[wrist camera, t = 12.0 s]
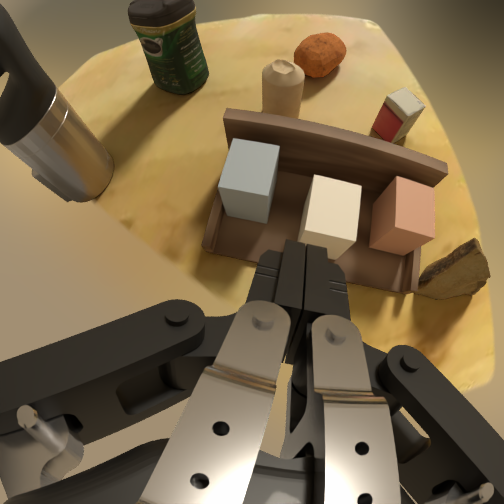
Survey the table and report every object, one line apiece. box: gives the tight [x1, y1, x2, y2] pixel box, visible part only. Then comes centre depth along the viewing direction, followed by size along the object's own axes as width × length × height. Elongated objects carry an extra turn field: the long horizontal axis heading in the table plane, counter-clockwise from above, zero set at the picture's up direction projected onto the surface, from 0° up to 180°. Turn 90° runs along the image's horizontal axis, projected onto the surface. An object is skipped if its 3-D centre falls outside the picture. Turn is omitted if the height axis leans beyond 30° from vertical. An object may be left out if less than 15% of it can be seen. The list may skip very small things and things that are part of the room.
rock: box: [414, 238, 490, 300], centre depth 30 cm, size 11×9×10 cm
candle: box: [262, 59, 305, 119], centre depth 36 cm, size 6×6×10 cm
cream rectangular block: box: [297, 174, 362, 260], centre depth 31 cm, size 6×5×8 cm
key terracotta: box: [369, 176, 435, 256], centre depth 31 cm, size 6×5×8 cm
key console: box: [202, 108, 448, 294], centre depth 31 cm, size 14×26×10 cm, turn 77°
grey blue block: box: [218, 138, 280, 224], centre depth 32 cm, size 6×5×8 cm
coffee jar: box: [128, 0, 209, 95], centre depth 34 cm, size 10×8×19 cm
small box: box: [372, 87, 426, 143], centre depth 36 cm, size 5×4×8 cm
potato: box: [294, 33, 346, 78], centre depth 40 cm, size 7×13×7 cm, turn 141°
